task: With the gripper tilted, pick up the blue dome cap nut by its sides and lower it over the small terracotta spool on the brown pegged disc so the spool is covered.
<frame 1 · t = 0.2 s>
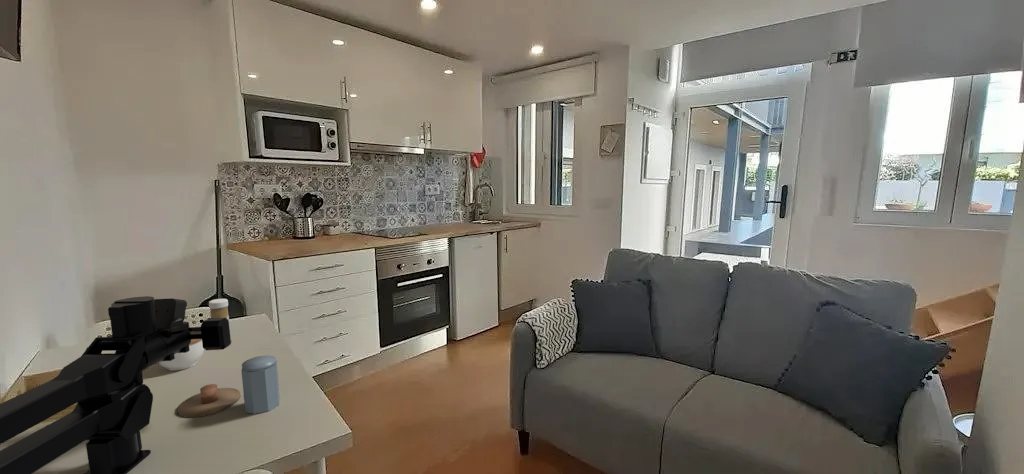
hand: (206, 322, 94), 16 cm above the table, tool horizontal, fingers open, 9 cm apart
sprinkles bottle: (222, 344, 123), on the table
blue dome cap nut: (263, 405, 90), on the table
brown pegged disc: (210, 402, 91), on the table
lidded jar: (182, 366, 109), on the table
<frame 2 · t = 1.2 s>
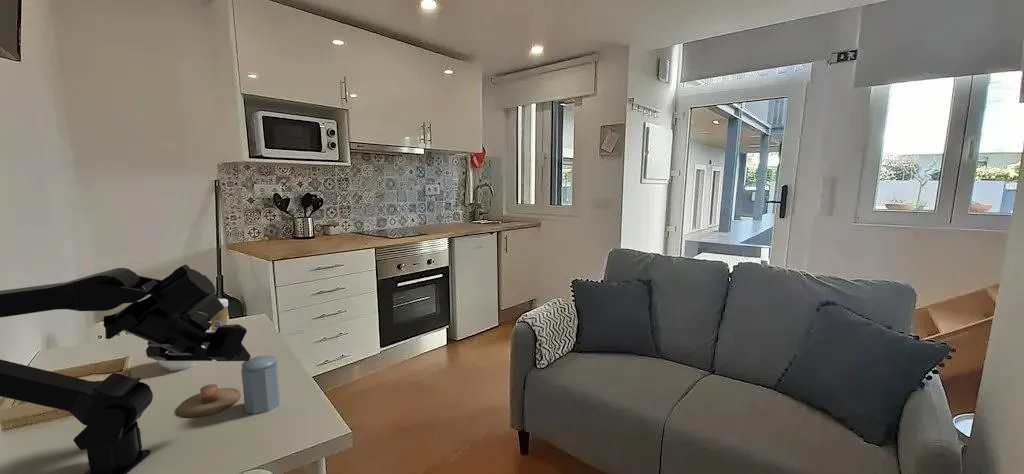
hand: (230, 358, 84), 13 cm above the table, tool tilted 45°, fingers open, 9 cm apart
nothing on the table moved.
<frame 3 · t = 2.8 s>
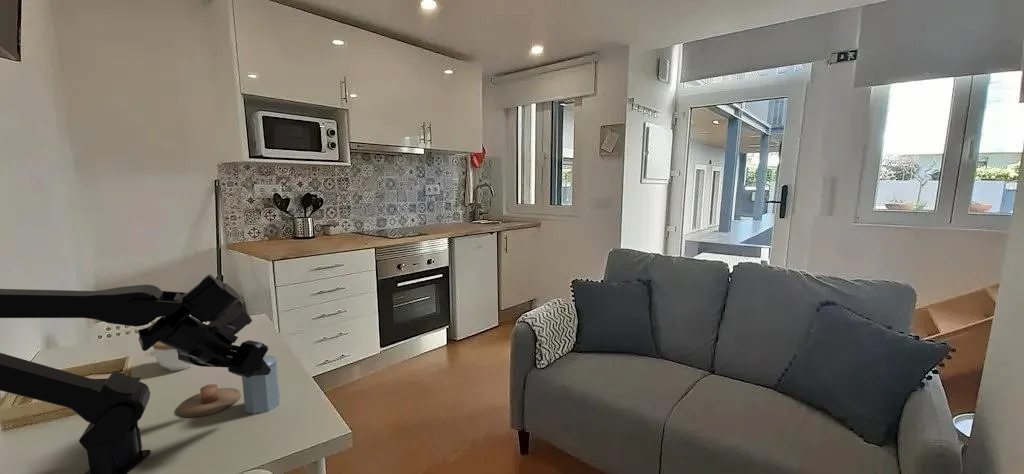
hand: (253, 368, 87), 9 cm above the table, tool tilted 45°, fingers open, 9 cm apart
nothing on the table moved.
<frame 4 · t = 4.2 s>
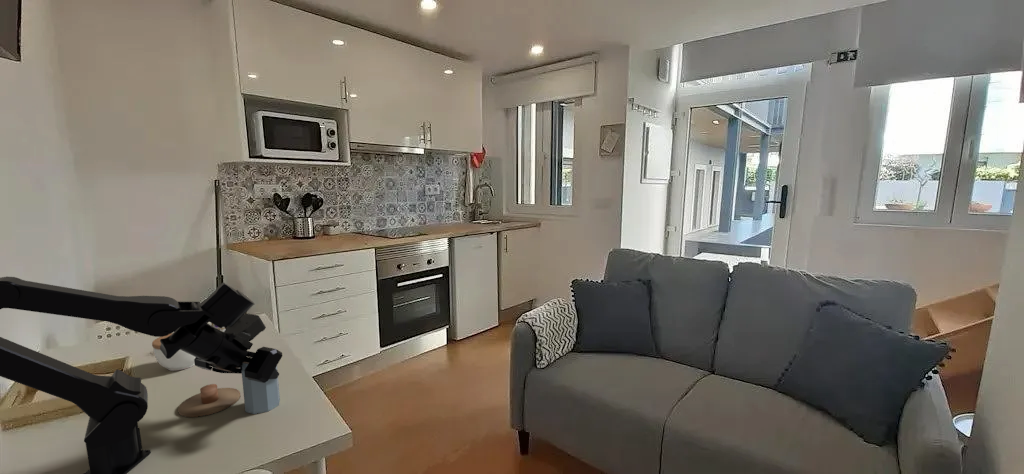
hand: (266, 373, 91), 7 cm above the table, tool tilted 45°, fingers closed on blue dome cap nut, 6 cm apart
blue dome cap nut: (263, 405, 90), on the table, touching gripper
everything else where it was.
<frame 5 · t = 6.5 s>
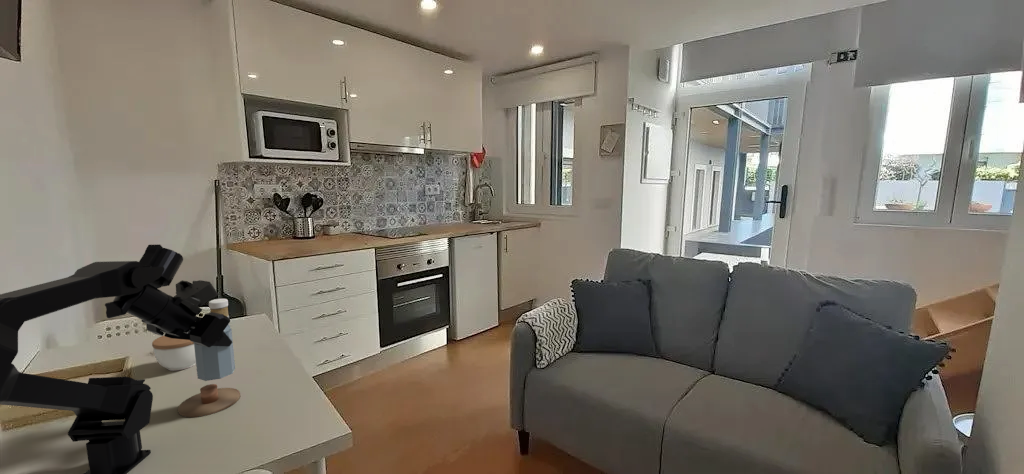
hand: (220, 341, 90), 14 cm above the table, tool tilted 45°, fingers closed on blue dome cap nut, 6 cm apart
blue dome cap nut: (216, 373, 90), point 7 cm above the table, touching gripper
everything else where it was.
when the fingers open (8 cm above the table, at t = 8.8 s): blue dome cap nut drops 1 cm, resting on brown pegged disc.
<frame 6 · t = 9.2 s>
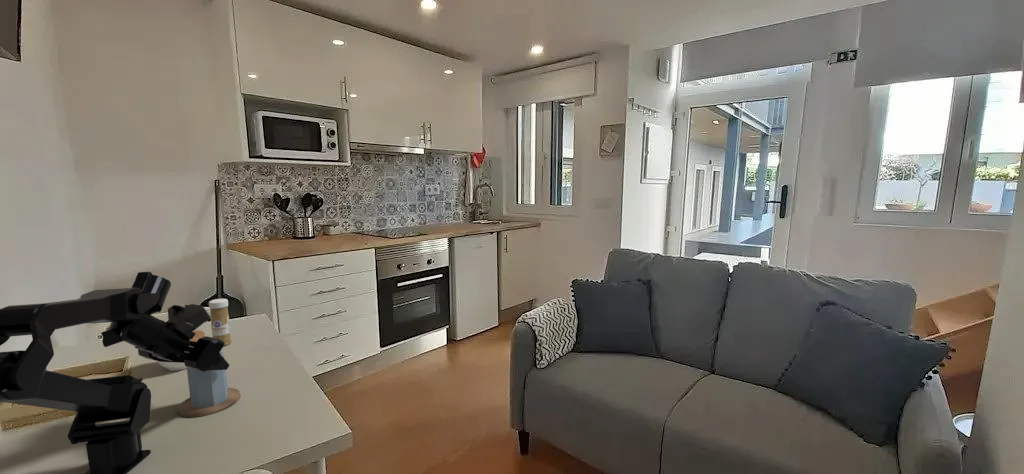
hand: (212, 364, 91), 8 cm above the table, tool tilted 45°, fingers open, 9 cm apart
blue dome cap nut: (210, 400, 91), point 1 cm above the table, touching brown pegged disc
everything else where it was.
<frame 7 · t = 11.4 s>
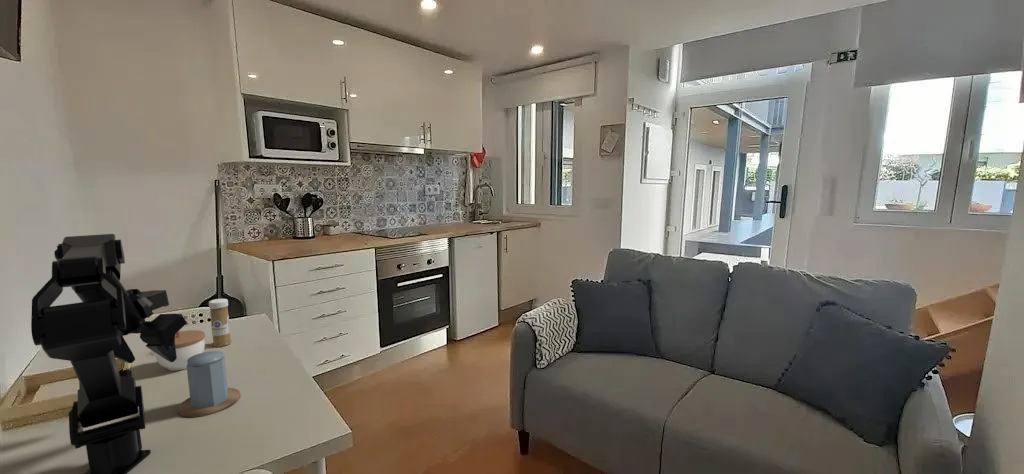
hand: (153, 361, 83), 12 cm above the table, tool tilted 25°, fingers open, 9 cm apart
nothing on the table moved.
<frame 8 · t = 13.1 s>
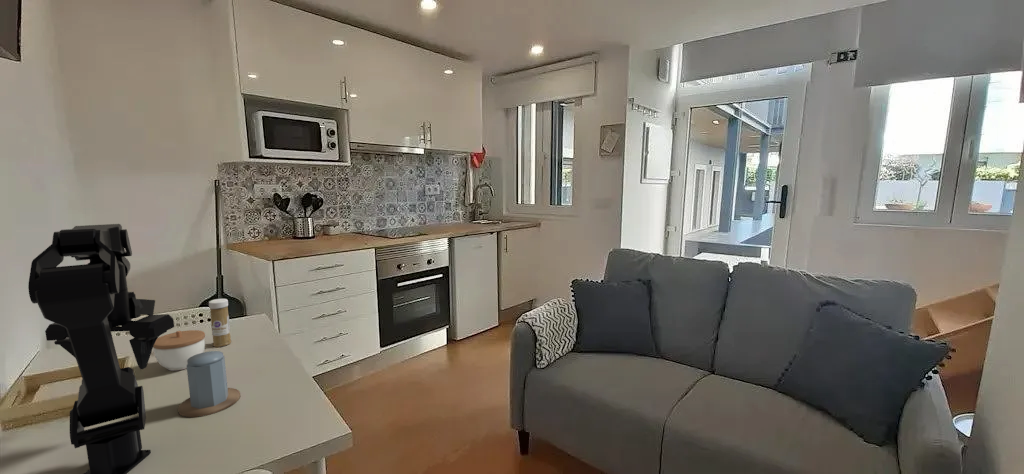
hand: (118, 369, 81), 12 cm above the table, tool pointing down, fingers open, 9 cm apart
nothing on the table moved.
at the end: blue dome cap nut 0.1 cm from the brown pegged disc (horizontally); blue dome cap nut point 0.6 cm above the table; blue dome cap nut tilted 0° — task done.
